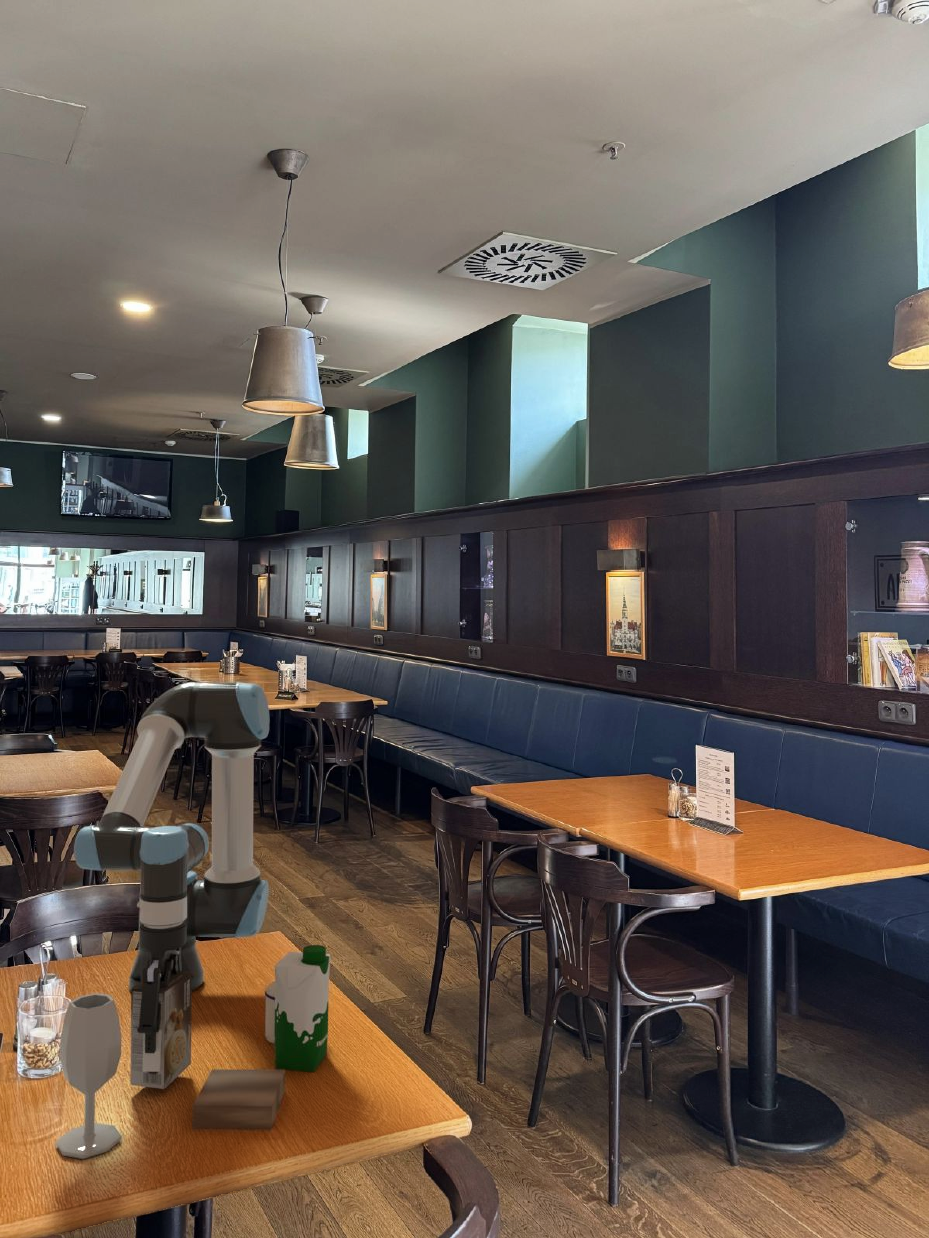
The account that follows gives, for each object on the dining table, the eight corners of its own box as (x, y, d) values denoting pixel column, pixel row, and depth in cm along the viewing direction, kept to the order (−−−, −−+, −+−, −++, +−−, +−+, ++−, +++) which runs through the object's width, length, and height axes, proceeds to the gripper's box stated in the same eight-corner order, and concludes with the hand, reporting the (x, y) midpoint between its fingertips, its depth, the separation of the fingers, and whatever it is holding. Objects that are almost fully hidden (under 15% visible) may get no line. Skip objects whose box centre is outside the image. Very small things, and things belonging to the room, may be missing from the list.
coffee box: (157, 1060, 165) (159, 967, 165) (191, 1064, 164) (193, 970, 164) (128, 1085, 156) (130, 987, 156) (164, 1090, 155) (166, 990, 155)
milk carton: (317, 1075, 164) (319, 957, 164) (267, 1070, 165) (269, 954, 166) (333, 1052, 172) (335, 941, 173) (285, 1048, 174) (287, 938, 174)
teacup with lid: (312, 1045, 175) (313, 981, 176) (261, 1047, 174) (262, 983, 175) (315, 1019, 187) (316, 959, 187) (267, 1020, 186) (268, 960, 186)
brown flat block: (211, 1093, 158) (212, 1069, 158) (284, 1093, 158) (285, 1069, 158) (192, 1131, 146) (192, 1105, 146) (271, 1132, 146) (271, 1105, 146)
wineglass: (44, 1147, 140) (47, 1003, 140) (96, 1122, 147) (99, 985, 147) (80, 1167, 135) (83, 1017, 135) (133, 1140, 142) (135, 998, 143)
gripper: (160, 901, 171) (158, 1027, 171) (117, 944, 149) (115, 1088, 149) (202, 902, 171) (201, 1027, 171) (166, 944, 149) (164, 1088, 149)
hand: (161, 1055), depth 160 cm, fingers closed on coffee box, 10 cm apart
